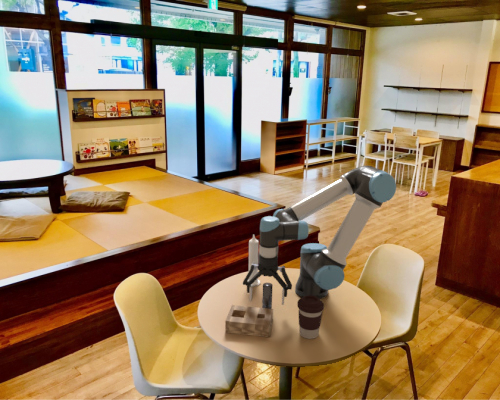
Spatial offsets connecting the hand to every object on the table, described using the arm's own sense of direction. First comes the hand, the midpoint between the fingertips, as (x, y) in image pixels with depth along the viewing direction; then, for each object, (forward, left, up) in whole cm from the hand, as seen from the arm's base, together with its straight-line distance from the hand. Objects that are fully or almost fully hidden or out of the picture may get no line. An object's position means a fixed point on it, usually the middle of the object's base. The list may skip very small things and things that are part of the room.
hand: (266, 301), depth 175 cm
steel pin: (0, 0, -5) cm, 5 cm away
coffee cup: (-18, +12, -6) cm, 22 cm away
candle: (+10, -25, -6) cm, 27 cm away
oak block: (+5, +11, -5) cm, 13 cm away
